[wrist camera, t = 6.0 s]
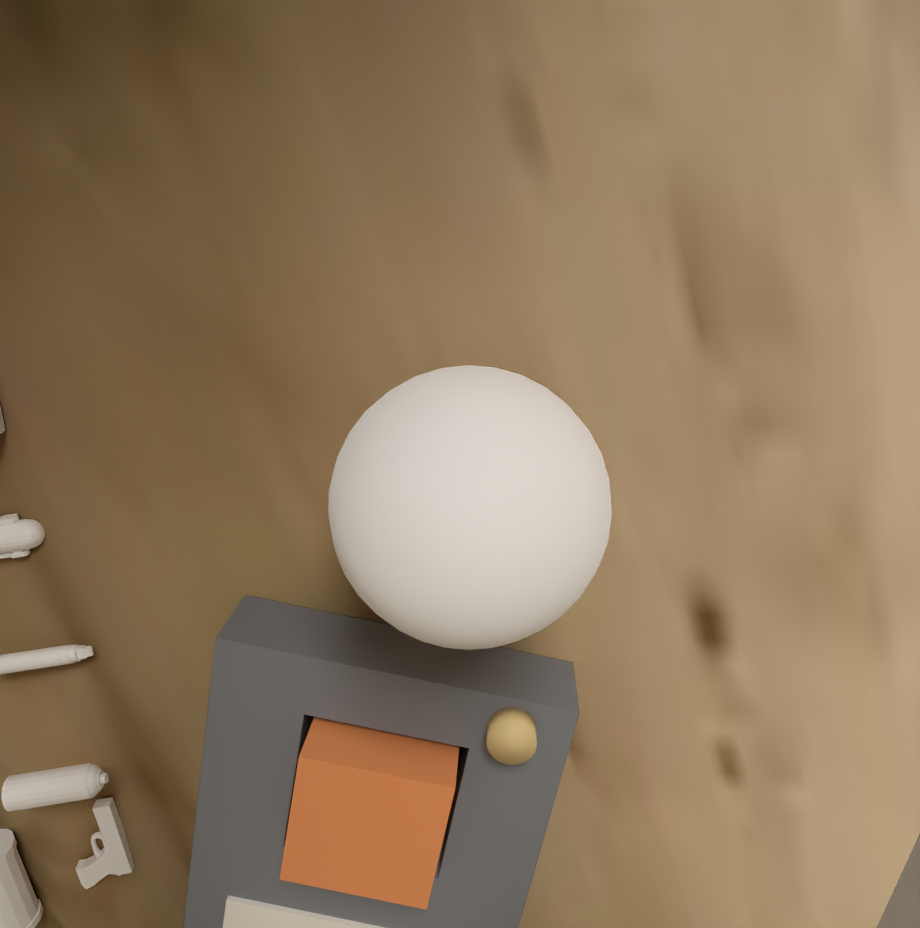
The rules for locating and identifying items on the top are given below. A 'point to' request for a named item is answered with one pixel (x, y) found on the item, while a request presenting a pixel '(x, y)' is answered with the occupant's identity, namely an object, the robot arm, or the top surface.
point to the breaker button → (369, 812)
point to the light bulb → (469, 507)
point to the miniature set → (50, 772)
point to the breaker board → (383, 708)
